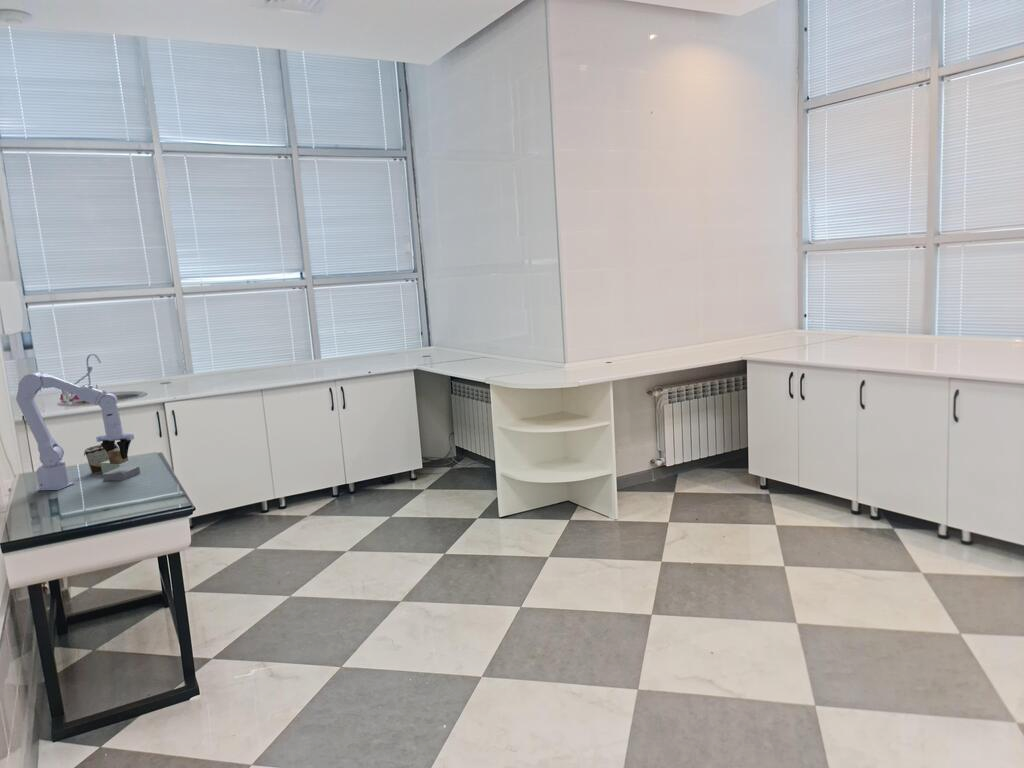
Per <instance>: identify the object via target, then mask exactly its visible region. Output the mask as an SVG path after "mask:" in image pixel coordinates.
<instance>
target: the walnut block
mask: <svg viewBox="0 0 1024 768" xmlns="http://www.w3.org/2000/svg"><path fill="white" fill-rule="evenodd" d="M108 456H109V461H110V464H119V465H120V464H123V463H126V462H128V461H129V456H128V455H127V458H125V459H122V456H121V452H120V449H114V450H111V451H108Z"/></svg>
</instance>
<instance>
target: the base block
mask: <svg viewBox="0 0 1024 768" xmlns="http://www.w3.org/2000/svg"><path fill="white" fill-rule="evenodd" d="M138 473H139V474H140V473H141V470H140V466H120V467H118V468H116V469H114V470H111V471H109V472H106V473H104V474H103V475H102V480H103V481H125V480H127V479H130V478H132V477H135V476H136V474H137V475H138ZM129 477H130V478H129Z"/></svg>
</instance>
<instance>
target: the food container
mask: <svg viewBox="0 0 1024 768" xmlns="http://www.w3.org/2000/svg"><path fill="white" fill-rule="evenodd" d="M115 449H119V446H118V445H117V443H115ZM83 452H84V454H83V456H84V457H85V456H86V460H87V463H88V465H89V469H90V472H91V474H92V475H95V474H99V472H100V473H102V469H101V464H100V463H102V462H105V461H107V460H109V456H108V453H107V452H106V450H105V449H104V448H103V447H102V446H101V444H99V445H95V446H90V447H88V448H86V449H84V451H83Z"/></svg>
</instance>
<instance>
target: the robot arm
mask: <svg viewBox="0 0 1024 768" xmlns="http://www.w3.org/2000/svg"><path fill="white" fill-rule="evenodd" d="M17 385H18V387H17V393H16V397H15V400H16V403H17V405H18V407H19V409H20V411H21V413H22V415H23V417H24V419H25V421H26V423H27V425H28V427H29V429H30V431H31V433H32V435H33V437H34V439H35V441H36V443H37V451H38V453H39V461H40V463H41V465H39V466H38V468H37V470H36V478H37V483H38V488H37V491H59V490H62V489H64V488H67V487H70V486H72V485H75V482H74V481H72V482H69V477H68V473H67V466H66V461H65V460H64V459H63V458H64V454H65V451H64V449H63V448H62V447H61V446H60V445H59V444H58V443H57V441H56V440H55V438H53V437H52V435H51V432H50V430H49V428H48V427H47V424H46V422H45V420H44V418H43V416H42V413H41V411H40V409H39V408H38V405H37V403H36V401H35V398H36V396H37V394H38V392H39V391H41V389H49V388H50V389H51V388H54V389H57V390H61V391H64V392H68V393H70V394H73V395H76V396H77V398H78V399H79V400H81V401H84V402H87V403H88V404H92V405H95V406H99V408H100V409H101V413H102V414H101V416H102V420H103V425H104V426H103V427H104V431H105V435H99V436H96V437H95V438H96V443H98V442H99V443H100V442H101V443H100V445H101V446H102V447H103V448H104V449H105V450H106V452H107V453H108V451H111V450H114V449H115V444H116V445H117V446H118V448H119V449H120V452H121V456H122V459H125V458H127V456H128V452H129V447H130V445H131V442H132V441H133V440H135V436H134V433H123V426H122V421H121V416H120V410H119V406H118V405H117V404H118V399H119V398H118V397H117V395H116V394H114V393H113V392H107V390H101V389H98V388H95V387H94V385H92V384H88V385H86V384H85V385H82V386H79V385H77V384H74V383H71V382H69V381H67V380H65V379H63V378H59V377H57V376H55V375H51V374H49V373H43V372H41V371H32V372H30V373H28V374H27V373H26V375H24V376H23V377H22V378H21V379H20V380H19V382H18V384H17ZM116 441H117V442H116Z"/></svg>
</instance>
